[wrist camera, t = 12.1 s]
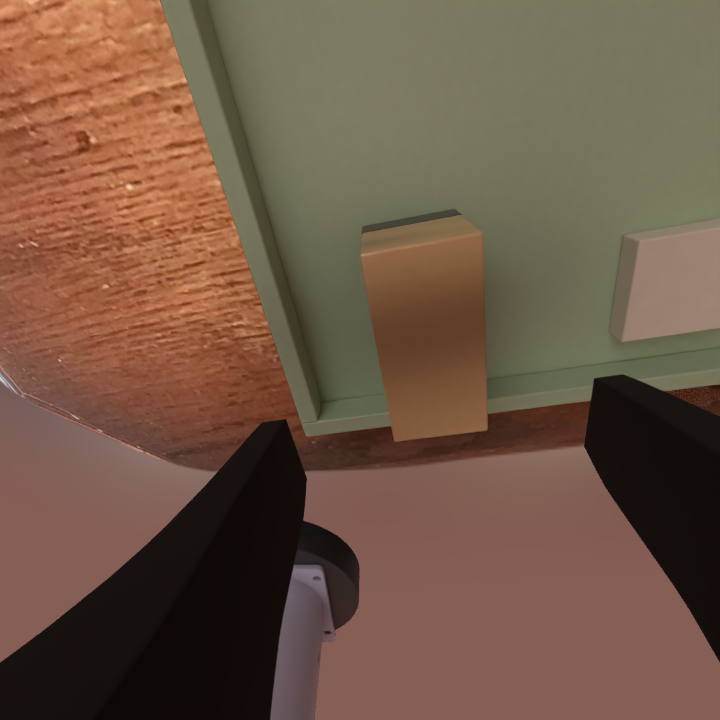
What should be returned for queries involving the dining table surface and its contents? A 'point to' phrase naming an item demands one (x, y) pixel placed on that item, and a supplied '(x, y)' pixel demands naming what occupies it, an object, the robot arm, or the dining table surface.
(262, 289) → the tray
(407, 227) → the eraser
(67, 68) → the dining table surface
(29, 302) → the dining table surface
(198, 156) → the dining table surface
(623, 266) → the square tile
